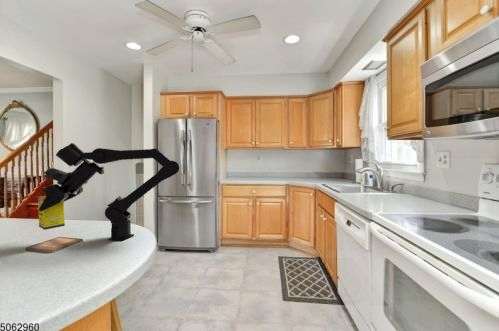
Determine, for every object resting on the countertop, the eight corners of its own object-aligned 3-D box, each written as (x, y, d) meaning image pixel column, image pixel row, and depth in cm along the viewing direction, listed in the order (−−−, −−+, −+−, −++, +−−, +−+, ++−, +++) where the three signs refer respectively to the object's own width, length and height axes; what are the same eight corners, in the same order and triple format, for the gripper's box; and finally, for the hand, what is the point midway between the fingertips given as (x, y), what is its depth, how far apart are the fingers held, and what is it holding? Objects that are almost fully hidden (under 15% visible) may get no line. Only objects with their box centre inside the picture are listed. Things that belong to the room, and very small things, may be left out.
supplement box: (38, 227, 84) (37, 196, 83) (59, 223, 88) (58, 194, 88) (43, 230, 80) (42, 197, 80) (65, 225, 85) (63, 195, 85)
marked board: (59, 239, 90) (58, 236, 90) (82, 241, 87) (82, 238, 87) (26, 250, 79) (25, 246, 79) (52, 252, 77) (52, 249, 77)
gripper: (72, 160, 94) (39, 189, 90) (49, 160, 76) (7, 197, 73) (96, 178, 96) (65, 208, 93) (79, 183, 79) (40, 219, 75)
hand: (46, 207), depth 84 cm, fingers closed on supplement box, 8 cm apart
